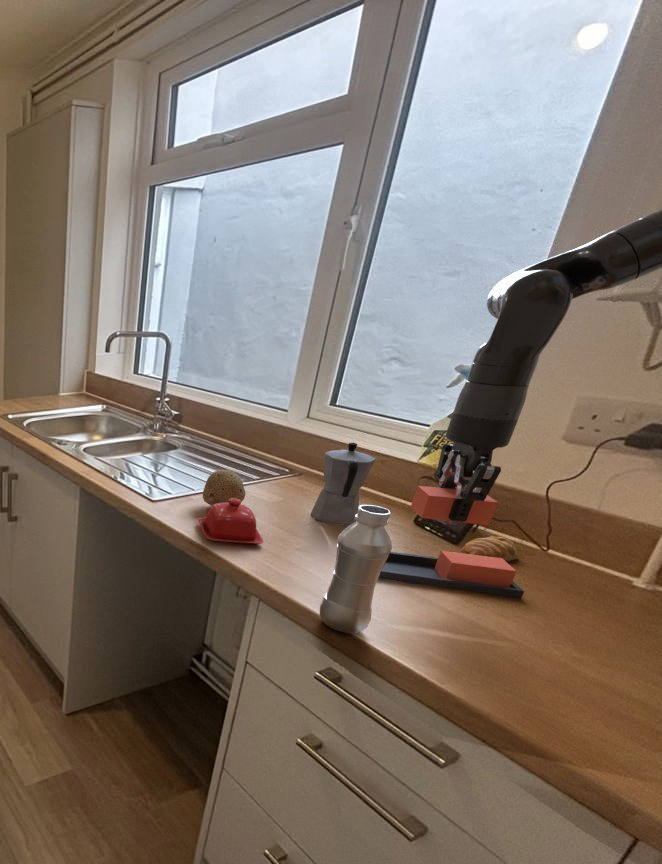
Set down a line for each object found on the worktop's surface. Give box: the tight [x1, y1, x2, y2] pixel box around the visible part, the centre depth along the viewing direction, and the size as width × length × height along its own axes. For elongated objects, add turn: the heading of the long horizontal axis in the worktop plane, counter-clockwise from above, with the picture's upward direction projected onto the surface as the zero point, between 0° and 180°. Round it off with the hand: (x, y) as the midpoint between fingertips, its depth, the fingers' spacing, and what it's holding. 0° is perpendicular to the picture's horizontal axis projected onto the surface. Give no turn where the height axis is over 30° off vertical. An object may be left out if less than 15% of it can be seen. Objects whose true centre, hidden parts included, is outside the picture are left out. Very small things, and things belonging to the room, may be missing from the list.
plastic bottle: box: [319, 504, 393, 634], centre depth 79 cm, size 6×7×20 cm
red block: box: [434, 550, 518, 588], centre depth 93 cm, size 9×5×4 cm, turn 69°
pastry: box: [460, 535, 519, 562], centre depth 102 cm, size 9×7×4 cm
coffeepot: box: [310, 442, 376, 527], centre depth 117 cm, size 15×9×18 cm, turn 153°
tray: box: [378, 551, 525, 600], centre depth 96 cm, size 22×10×2 cm, turn 69°
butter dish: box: [198, 498, 264, 545], centre depth 112 cm, size 12×12×8 cm
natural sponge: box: [202, 469, 247, 507], centre depth 125 cm, size 9×9×10 cm
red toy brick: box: [410, 485, 499, 526], centre depth 86 cm, size 9×5×4 cm, turn 70°
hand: (449, 513), depth 87 cm, fingers closed on red toy brick, 5 cm apart
